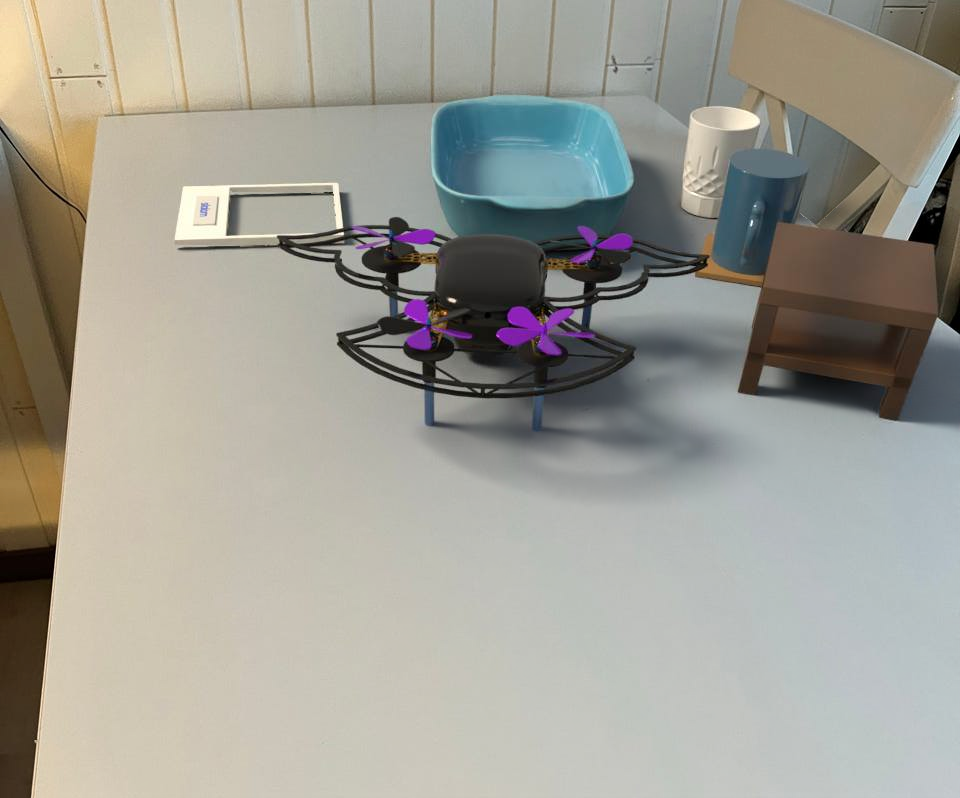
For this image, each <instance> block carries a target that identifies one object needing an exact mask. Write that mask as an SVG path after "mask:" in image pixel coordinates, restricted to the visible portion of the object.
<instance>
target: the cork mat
mask: <svg viewBox="0 0 960 798" xmlns="http://www.w3.org/2000/svg"><path fill="white" fill-rule="evenodd" d="M714 235H715V234H712V233H707V235H706V238H705V241H704V244H703V247H702V250H701V253H700V254H704V255H710V257H709V258H708V259H707V263H708V266H707V267H705V268H704V269H702V270H699V271H697V272H694V277H698V278H704V279H711V280H717V281H722V282H723V281H724V282H729V283H735V284H742V285H747V286H755V287H760V288H761V287H762V282H763V278H764V275H747V274H740V273H736V272H732V271H729V270H727V269H724V268H722V267H720V266H719V265H717V264H716V263H715V262H714V261H713V260H712V258H711V250H712V245H713V240H714ZM700 263H703V262H700Z"/></svg>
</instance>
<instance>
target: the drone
mask: <svg viewBox="0 0 960 798" xmlns="http://www.w3.org/2000/svg"><path fill="white" fill-rule="evenodd" d="M409 225H410V224H409V223H408V222H407V221H406V220H405V219H404V218H401V217H400V216H393V217H390V218H389V219H388V225H387V224H386V225H385V224H366V225H365V224H362V225H350V226H345V227H344V226H343V228H340V229H337V228H336V229H333V230H329V231H323V232H316V233H317V234H309V235H277V238H278V239H279V244H278V245H277V247H278V248H279V249H281V250H282V251H284V252H285V253H287V254H289V255H291V256H293V257H297V258H300V259H305V260H309V261H313V262H319V263H320V262H322V263H333V264H334V269H335V270H334V271H335V273H336V274H337V276H338V277H339V278H341V279H342V280H343V281H345V282H346V283H348V284H349V285H353V286H355V287H358V288H362V289H368V290H375V291H380V292H381V293H382V294H383V295H386V296H387V297H388V302H389V303H388V304H389V306H388V307H389V316H387V315H386V316H383V317H380V318H379V319H378V320H377V322H374V323H371V324H368V325H365V326H360V327H357V328H353V329H348V330H344V331H340V332H336V335H335V336H336V337H337V342H336V345H337V346H338V347H339V348H340V349H341V351H343V352H344V353H345V354H346V355H347V356H348V357H350V359H352V360H353V361H354V362H356V363H358V364H359V365H360V366H362V367H364V368H365V369H368V370H369V371H371V372H372V373H375V374H377V375H379V376H382V377H384V378H386V379H389V380H391V381H394V382H396V383H398V384H401V385H405V386H409V387H411V388H415V389H419V390H423V393H424V394H423V399H424V402H423V403H424V425H426V426H430V427H431V426H434V425H435V393H436V394H442V395H449V396H454V397H463V398H472V399H473V398H474V399H519V398H531V397H532V398H533V404H532V405H533V406H532V418H531V419H532V420H531V429H532V430H533V431H534V432H535V431H536V432H537V431H541V430H542V426H543V417H544V416H543V415H544V406H545V405H544V404H545V403H544V402H545V396H547V395H548V396H549V395H553V394H559V393H562V392H566V391H571V390H575V389H578V388H582V387H585V386H587V385H591V384H594V383H597V382H598V381H600V380H603V379H605V378H608V377H610V376H612V375H613V374H615V373H617V372H618V371H620V370H622V369H624V368H625V367H627V365H629V364H630V363H631V362H633V361H634V360H635V359H636V356H635V352H636V351H637V347H636V346H634V345H631V344H628V343H625V342H622V341H618V340H616V339H613V338H611V337H608V336H606V335H603V334H601V333H598V332H596V331H595V330H592V329H590V328H591V317H592V309H593V305H595V304H597V303H598V302H599V301H615V300H623V299H626V298H631V297H632V296H636V295H637V294H639V293H641V292H642V291H643V290H644V289H646V288H647V285H648V283H649V278H673V277H674V278H675V277H681V276H682V277H683V276H686V275H690V274H695V272H697V271H699V270H702V269H704V268H705V267H707V266H708V263H707V259H708V258H709V257H710V255H704V254H701V253H691V252H685V251H678V250H673V249H669V248H665V247H662V246H658V245H656V244H653V243H650V242H648V241H645V240H643V239H637V238H633V237H632V236H631V235H629V234H627V233H616V234H615V235H608V236H607V235H597V234H596V233H595V232H594V231H593V230H591V229H589V228H587V227H585V226H579V227H578V231H579V232H580V233H581V234H582V235H574V236H564V237H557V238H551V239H546V240H542V241H538V242H531V241H529V240H526V239H523V238H519V237H515V236H508V235H499V234H473V235H464V236H456V237H454V238H451V237H448V236H447V235H443V234H441V233H436V231H435V230H433V229H431V228H430V229H429V228H421V229H419V228H416V227H410V226H409ZM375 230H388V233H385V232H384V233H381V232H377V231H375ZM349 231H359V232H361V233H353V234H346V235H344V236H342V237H338V238H334V239H330V240H326V241H319V242H313V243H300V244H297V243H294V242H292V241H291V240H290V239H310V238H318V237H324V236H330V235H334V234H338V233H342V232H344V233H345V232H349ZM362 232H363V233H362ZM406 232H407V233H406ZM363 238H385V240H379V241H375V242H374V241H373V242H370V243H367V242H365V241H364V240H361V239H363ZM434 239H439V240H442V241H443V242H439V241H436V240H434ZM575 239H586V240H587V242H588V243H577V244H572V243H568V242H563V241H565V240H575ZM597 239H603V240H604V241H603V240H602V241H601V242H598V243H596V241H597ZM343 240H344V241H346V240H354V241H356V242H358V243H360V244H361V245H357V246H355V247H354V248H355V250H365V249H367V250H366V251H364V252H363V254H362V255H361V263H362V265H363V266H364V267H365V268H366V269H368V270H370V271H372V272H375V273H378V274H379V273H380V274H385V276H383V277H382V276H373V275H367V274H363V273H360V272H357V271H354V270H352V269H350V268H348V267H347V266H346V265H344V263H343V258H341V255H342V253H343V251H342V250H341V249H327V248H326V249H325V248H318V247H320V246H325V245H332V243H334V244H337V243H336V242H339V241H343ZM444 241H445V242H444ZM386 242H388V243H389V244H386V245H380V244H384V243H386ZM283 243H285V244H283ZM548 243H556V244H562V245H557V246H552V247H546V248H541V247H540V245H544V244H548ZM413 244H414V245H415V244H416V245H422V246H423V245H427V244H428V245H431V246H434V247H438V250H437V252H419V251H418V250H416V247H415V246H414V245H413ZM633 244H636V245H641V246H643V247H646V248H649V249H652V250H654V251H657V252H660V253H663V254H669V255H672V256H678V257H684V258H691V259H692V260H688V261H686V260H681V259H674V258H672V257H671V258H670V257H667V256H664V255H659V254H656V253H654V252H651V251H648V250H646V249H643V248H639V247H635V246H633ZM378 245H380V246H378ZM577 247H586V248H585V249H589V250H588V251H584V252H583V253H581V254H575V255H572V256H569V257H567V258H566V259H560V258H551V257H548V256H547V253H548V252H554V251H560V250H559V249H567V248H577ZM295 249H298V250H300V251H305V252H310V253H315V254H325V255H334V256H333V257H322V256H316V255H310V254H306V253H303V252H299V251H296V250H295ZM635 252H636V253H639V254H642V255H644V256H647V257H649V258H652V259H655V260H659V261H662V262H666V263H669V264H655V263H654V264H653V263H643V264H642V270H643V271H642V272H641V274H640V276H639V278H637V279H636V280H634V281H631V282H628V283H626V284H622V285H617V286H606V287H605V286H597V284H606V283H610V282H613V281H616V280H617V279H619V278H621V276H622V274H623V267H622V264H625V263H627V262H629V261H631V260H632V257H633V256H632V253H635ZM700 262H703V263H700ZM421 265H435V267H434V268H435V279H434V288H433V289H434V290H432V291H431V290H428V291H426V290H415V289H409V288H404V287H400V277H399V274H405V273H409V272H412V271H414V270H416V269H418V268H420V266H421ZM687 267H691V268H688V269H684V270H678V271H671V272H650V269H651V270H670V269H681V268H687ZM548 270H550V271H551V270H552V271H562V272H563V274H564V275H565V276H567V277H568V278H570V279H572V280H574V281H577V282H581V283H583V291H582V294H580V295H575V296H567V297H566V296H565V297H563V296H562V297H560V296H559V297H558V296H555V297H553V296H546V281H547V278H548V272H549V271H548ZM350 276H351V277H350ZM352 277H353V278H357V279H360V280H365V281H370V282H379V283H380V284H381V285H378V284H376V285H375V284H370V283H365V282H362V281H359V280H356V279H353V278H352ZM629 289H632V290H629ZM625 290H629V291H627V292H623V293H619V294H611V295H599V294H600V293H609V292H610V293H611V292H620V291H625ZM398 293H401V294H406V295H411V296H418V297H426V298H424V299H420V298H409V297H406V296H401V295H399V294H398ZM579 301H583V302H582V303H578V304H572V305H554V304H553V303H571V302H579ZM399 302H403V303H406V305H405V306H404V308H403V311H402V312H400V313H399ZM580 309H581V310H582V314H581V315H582V316H581V323H580V322H579V323H578V322H577V321H575V320H573V319H572V318H570V317H571V316H573V315H574V313H575V311H576V310H580ZM429 313H430V314H429ZM407 317H408V318H407ZM405 318H407V319H405ZM546 318H547V319H548V320H546ZM568 325H569V326H568ZM556 326H557V327H559V328H560V329H561V330H562V331H551V329H553V328H554V327H556ZM570 326H572V327H573V328H574V329H573V328H572V327H570ZM375 329H380V330H378V331H375V332H371V333H369V334H365V335H361V336H357V337H353V338H350V339H349V338H348V337H349V336H354V335H357V334H362V333H366V332H369V331H373V330H375ZM575 329H577V330H578V331H577V330H575ZM411 332H414V333H412V334H410V335H408V336H407V338H406V340H405V342H403V345H393V344H391V345H390V344H363V342H366V341H370V340H374V339H376V338H379V337H382V336H385V335H390V336H399V335H403V334H407V333H411ZM444 334H447V335H449V336H452V340H453V341H452V340H451V339H450V338H447V337H445V336H444ZM549 334H555V335H561V336H562V335H563V336H569V337H574V338H576V339H577V340H580V341H582V342H584V343H585V344H587V345H590V346H592V347H594V348H597V349H598V350H600V351H603V352H607V353H609V354H611V355H601V354H600V355H599V354H584V353H583V354H582V353H570V352H569V350H568V349H567V347H566V346H565V345H563V344H562V343H559V342H557V341H554V340H553V339H552V338H551V337H550V335H549ZM591 338H595V339H597V340H599V341H602V342H604V343H607V344H610V345H612V346H615V347H617V348H621V349H624V350H623V351H621V350H618V349H616V348H613V347H610V346H608V345H606V344H602V343H600V342H598V341H596V340H593V339H591ZM360 343H361V344H360ZM515 347H517V348H516V350H514V348H515ZM363 348H366V349H367V348H368V349H370V348H373V349H394V350H395V349H397V350H398V349H399V350H402V351H403V354H404V355H405V356H406V357H408V358H409V359H411V360H413V361H416V362H421V365H422V366H421V371H422V372H421V373H417V372H414V371H411V370H408V369H405V368H402V367H399V366H396V365H394V364H391V363H389V362H386V361H384V360H381V359H380V358H377V357H376V356H374V355H372V354H370V353H368V352H366V351H365V350H364V349H363ZM455 352H462V353H464V354H466V355H481V356H482V355H483V356H503V355H505V354H506V355H516V356H517V358H518V359H519V360H520V361H521V362H522V363H523V364H525V365H528V366H531V367H534V369H533V370H531V371H529V372H527V373H525V374H522V375H521V376H519V377H516V378H515V379H513V380H510V381H508V382H506V383H480V382H469V381H461V380H460V379H458V378H457V377H455V376H453V375H451V374H450V373H448V372H446V371H445V370H444V369H441V368H440V367H438V366H437V362H442V361H445V360H447V359H449V358H451V357H452V356H453V355H454V353H455ZM569 357H570V358H587V359H603V360H605V359H606V360H608V361H605V362H604V363H601V364H599V365H596V366H593V367H591V368H589V369H586V370H583V371H579V372H576V373H573V374H570V375H565V376H560V377H555V378H551V379H548V376H549V368H555V367H559V366H561V365H563V364H564V363H566V362H568V360H569ZM370 362H371V363H370ZM382 368H384V369H386V370H388V371H386V370H384V369H382ZM389 371H390V372H389ZM437 371H438V372H440V373H442V374H443V375H445V376H446V377H448V378H449V379H447V378H439V377H437ZM602 371H603V372H602ZM391 372H392V373H391ZM393 373H396V374H393ZM597 373H598V374H597ZM397 374H399V375H402V376H405V377H409V378H411V379H416V380H420V381H422V382H423V383H421V382H417V381H414V380H411V379H407V378H404V377H401V376H399V375H397ZM531 375H533V381H529V382H518V381H521V380H522V379H523V380H524V378H527V377H529V376H531ZM592 375H593V376H592ZM589 376H591V377H589ZM586 377H588V378H586ZM582 378H585V379H582ZM580 379H582V380H580ZM576 380H578V381H576ZM579 380H580V381H579ZM572 381H576V382H572ZM568 382H572V383H569V384H565V385H560V384H563V383H568ZM436 384H437V385H443V386H449V387H450V386H451V387H455V388H463V389H465V388H466V389H468V391H467V390H457V389H451V388H445V387H440V386H435V385H436ZM558 384H559V386H556V387H555V386H554V385H558ZM547 386H554V387H551V388H546V387H547ZM533 388H534V390H530V391H529V390H528V391H516V392H497V391H499V390H516V389H517V390H518V389H533ZM476 389H477V390H476ZM478 390H480V392H479V391H478ZM486 390H489V391H487V392H486Z"/></svg>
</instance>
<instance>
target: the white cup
mask: <svg viewBox="0 0 960 798" xmlns="http://www.w3.org/2000/svg"><path fill="white" fill-rule="evenodd" d="M761 123H762V121H761V118H760V117H759V116H758V115H756V114H755V113H753V112H751V111H748V110H745V109H741V108H737V107H730V106H721V105H720V106H719V105H712V106H703V107H699V108H696V109H694V110H693V111H692V112H690V116H689V124H688V132H687V138H686V146H685V147H686V148H685V155H684V162H683V174H682V188H681V195H680V207H681V208H682V209H683V210H684V211H685V212H686V213H689V214H691V215H694V216H697V217H701V218H708V219H718V215H719V210H720V205H721V200H722V195H723V190H724V185H725V180H726V175H727V170H728V165H729V160H730V157H731V156H732V155H733V154H734V153H736V152H738V151H742V150H747V149H755V146H756V143H757V138H758V135H759V131H760V127H761Z"/></svg>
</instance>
